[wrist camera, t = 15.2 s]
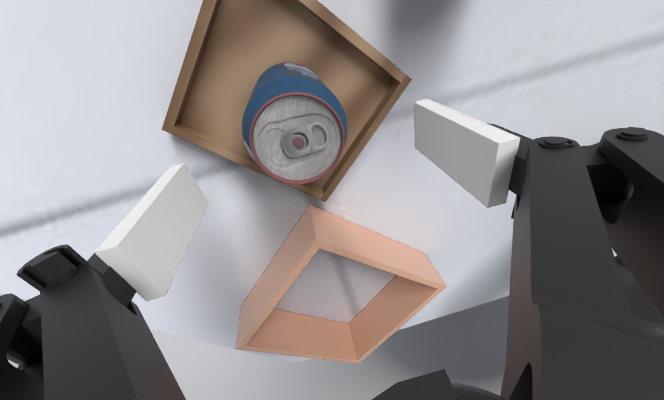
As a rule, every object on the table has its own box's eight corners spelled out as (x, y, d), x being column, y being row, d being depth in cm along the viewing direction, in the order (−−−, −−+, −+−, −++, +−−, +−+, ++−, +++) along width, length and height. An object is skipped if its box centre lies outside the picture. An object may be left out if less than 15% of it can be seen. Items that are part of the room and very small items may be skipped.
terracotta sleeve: (424, 252, 43) (447, 286, 37) (349, 327, 52) (358, 363, 46) (309, 204, 33) (316, 239, 28) (241, 306, 42) (235, 348, 36)
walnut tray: (401, 75, 27) (411, 79, 25) (322, 191, 33) (325, 201, 31) (232, -63, 19) (227, -75, 17) (171, 121, 25) (161, 129, 23)
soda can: (270, 142, 27) (266, 205, 17) (241, 73, 23) (214, 102, 13) (331, 123, 27) (363, 174, 17) (313, 51, 23) (340, 63, 13)
